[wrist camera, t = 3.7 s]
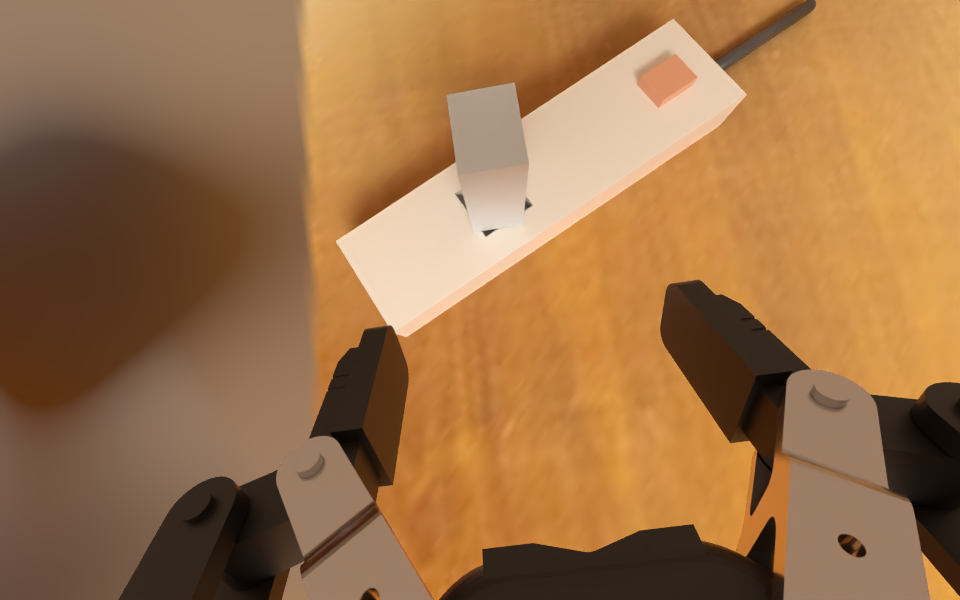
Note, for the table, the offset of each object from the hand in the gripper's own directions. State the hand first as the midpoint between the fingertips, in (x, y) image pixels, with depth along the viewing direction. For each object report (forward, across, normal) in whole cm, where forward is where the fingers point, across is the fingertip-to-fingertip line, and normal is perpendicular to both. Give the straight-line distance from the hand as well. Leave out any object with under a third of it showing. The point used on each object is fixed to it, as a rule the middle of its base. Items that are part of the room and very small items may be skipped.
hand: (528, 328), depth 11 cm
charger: (+18, 0, +3) cm, 19 cm away
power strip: (+23, -9, +1) cm, 25 cm away
